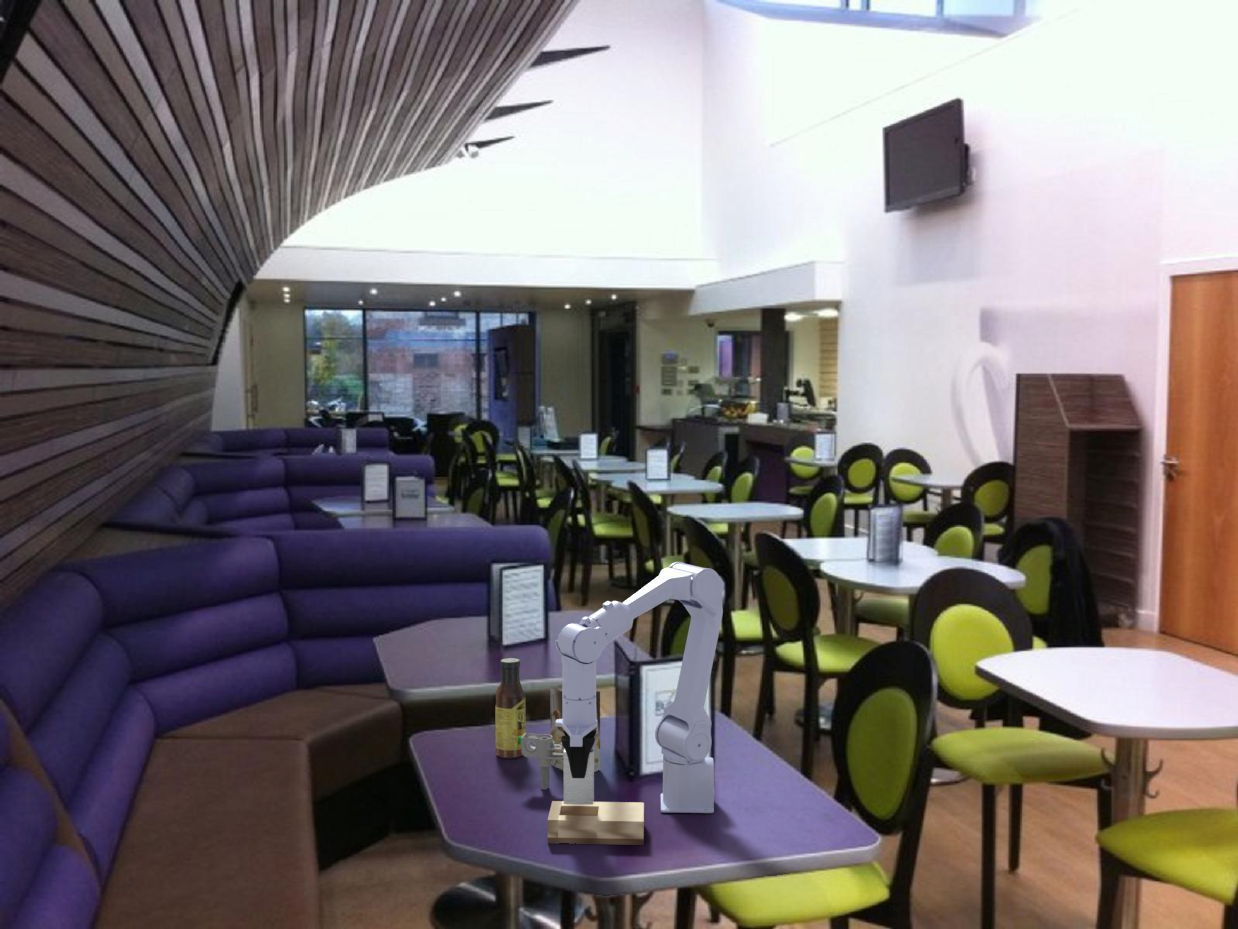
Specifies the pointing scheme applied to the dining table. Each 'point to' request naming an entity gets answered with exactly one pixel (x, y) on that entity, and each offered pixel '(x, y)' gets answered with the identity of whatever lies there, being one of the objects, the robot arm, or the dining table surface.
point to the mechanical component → (541, 752)
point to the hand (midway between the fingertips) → (579, 774)
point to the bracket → (579, 783)
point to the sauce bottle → (509, 710)
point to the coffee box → (559, 731)
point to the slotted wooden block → (596, 823)
